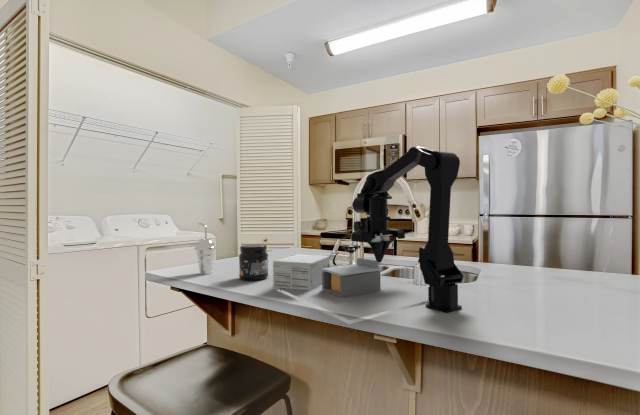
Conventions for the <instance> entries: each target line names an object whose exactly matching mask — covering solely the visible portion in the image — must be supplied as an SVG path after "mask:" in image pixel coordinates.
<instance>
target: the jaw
mask: <svg viewBox="0 0 640 415" xmlns="http://www.w3.org/2000/svg"><path fill="white" fill-rule="evenodd" d="M346 276H347V275H346ZM340 277H341V276H340V275H336V274H333V273H331V290H333V291H336V292H339V293H340Z"/></svg>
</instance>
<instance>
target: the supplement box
mask: <svg viewBox="0 0 640 415" xmlns="http://www.w3.org/2000/svg"><path fill="white" fill-rule="evenodd" d="M329 267H330V255H322V254H321V255H319V254H317V255H316V254H302V253H301V254H300V253H298V254H294V255H290V256H288V257H287V256H286V257H284V258H281V259H277V260H276V259H275V260H273V261H272V277H273V278H272V281H273V282H272V290H277V291H285V290H284V289H287V290H297V291H299V290H301V291H308V292H309V291H312V290H314V289H316V288H317V287H319V286H320V285H321V286H322V268H329Z"/></svg>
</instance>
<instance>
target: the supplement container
mask: <svg viewBox="0 0 640 415" xmlns="http://www.w3.org/2000/svg"><path fill="white" fill-rule="evenodd" d="M267 248H268V247H267V245H266V244H262V243H261V244H259V243H258V244H257V243H256V244H254V243H253V244H244V245H241V246H240V248H239V249H240V250H239V251H240V254H239V255H238V258H239V260H238V262H239V264H238V265H239V270H238V271H239V275H238V277H239V279H240V280H242V281H245V280H247V281H248V282H257V280H258V281H261V280H265V279H268V276H269V259H268V258H269V254H268V252H267V251H268V250H267ZM247 281H246V282H247Z"/></svg>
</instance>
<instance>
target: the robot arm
mask: <svg viewBox="0 0 640 415" xmlns="http://www.w3.org/2000/svg"><path fill="white" fill-rule="evenodd" d="M460 161H461V160H460V158H459V157H458V156H457V154H456V153H454V152H448V151H447V152H446V151H436V150H431V149H428V148H426V147H422V146H412V147H410V148H409V149H408V150H407V152H406V153H403V155H401V156H399V158H397V159H396V160H395V161H394V162H392V163H391V164H389V165H388V166H387V167H385V168H384V169H381V170H377V171H374V172H372V173H369V174H368V176H366V178H365V181H364V183H363V185H362V188H361V190H360V192H359V193H357V194H356V197H355V198H354V199H353V202H352V205H351V206H352V209H353V211H354V212H355V213H357V214H369V215H368V216H367V217H366V219H365V222H361V221H360V220H356V221H354V222H353V232H352V233H350V241H351V242H356V243H358V242H359V243H365V244H368V245H369V246H370V248H371V250H372V253H373V255H374V258H375V261H378V264H379V263H382V261H383V259H384V257H385V254H386V253H387V250H388V249H389V247H390V245H391V243H393V240H391V239H390V238H395V239H398V240H404V239H405V238H406V233H405V231H404V230H403V229H397V228H395V229H394V228H393V229H392V228H391V229H388V228H389V226H388V224H389V222H388V221H391V216H388V200H392V199H393V196H392V195H391V194H389V192H390V189H392V187H394V186H395V182H396V181H397V180H398V179H400V178H402V177H403V176H405V175H406V174H407V173H409V172H411V170H413V169H414V168H416V167H418V166H420V167H422V168H424V174H425V178H426V180H427V183H428V185H429V187H430V190H429V191H430V192H429V193H430V195H429V213H428V214H429V215H428V217H429V218H428V232H427V234H428V237H427V242H426V244H425V246H421V247H419V249H418V255H419V256H418V261H417V263H418V264H419V269H420V272H421V275H422V277H423V282H424V284H425V285H428V291H427V292H428V295H427V297H428V299H427V300H428V303H425V307H426V308H427V307H428V308H431V309H434V310H438V311H441V312H444V313H449V312H453V311H456V310H459V309H462V307H463V306H462V305H460V304H459V294H458V293H459V292H458V291H459V290H458V288H459V287H458V286H459V285H458V284H461V283H462V282H463V279H464V276H465V275H464V274H463V273H462V271H461V270H460V269H459V267H458V266H457V265H456V263H455V258H454V252H453V250H452V247H451V246H450V244H449V235H450V233H449V232H450V231H449V230H450V229H449V228H450V213H451V211H450V210H451V196H452V195H451V193H452V186H453V185H454V182H456V179H457V178H458V176H459V170H460V165H461V164H460V163H461V162H460Z"/></svg>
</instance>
